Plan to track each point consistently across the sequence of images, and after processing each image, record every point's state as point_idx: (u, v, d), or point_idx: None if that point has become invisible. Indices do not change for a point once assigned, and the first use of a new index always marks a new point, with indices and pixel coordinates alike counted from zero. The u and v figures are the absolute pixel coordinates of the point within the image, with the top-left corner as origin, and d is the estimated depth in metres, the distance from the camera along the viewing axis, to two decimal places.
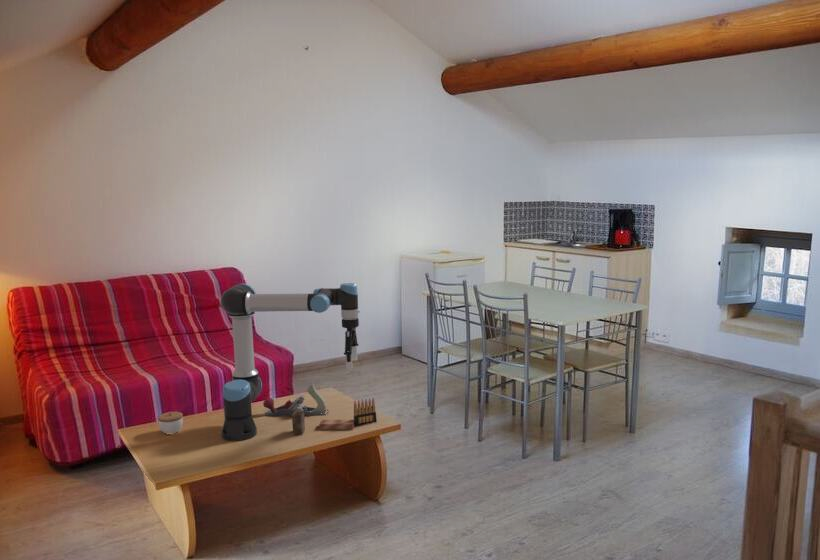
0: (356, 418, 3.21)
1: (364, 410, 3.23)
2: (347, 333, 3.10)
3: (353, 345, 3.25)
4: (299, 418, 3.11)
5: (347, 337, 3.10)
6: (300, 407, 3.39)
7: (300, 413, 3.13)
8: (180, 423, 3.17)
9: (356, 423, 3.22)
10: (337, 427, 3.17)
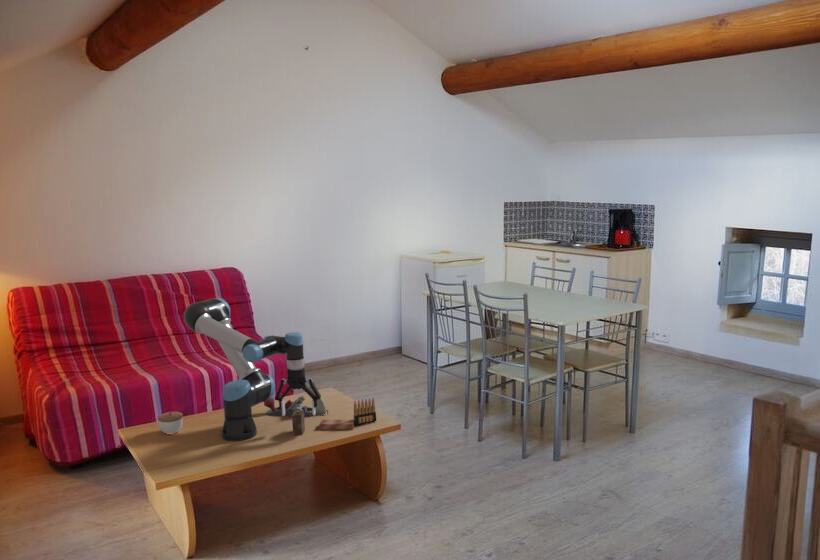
0: (356, 418, 3.21)
1: (364, 410, 3.23)
2: (281, 380, 3.12)
3: None
4: (299, 418, 3.11)
5: None
6: (300, 407, 3.39)
7: (300, 413, 3.13)
8: (180, 423, 3.17)
9: (356, 423, 3.22)
10: (337, 427, 3.17)
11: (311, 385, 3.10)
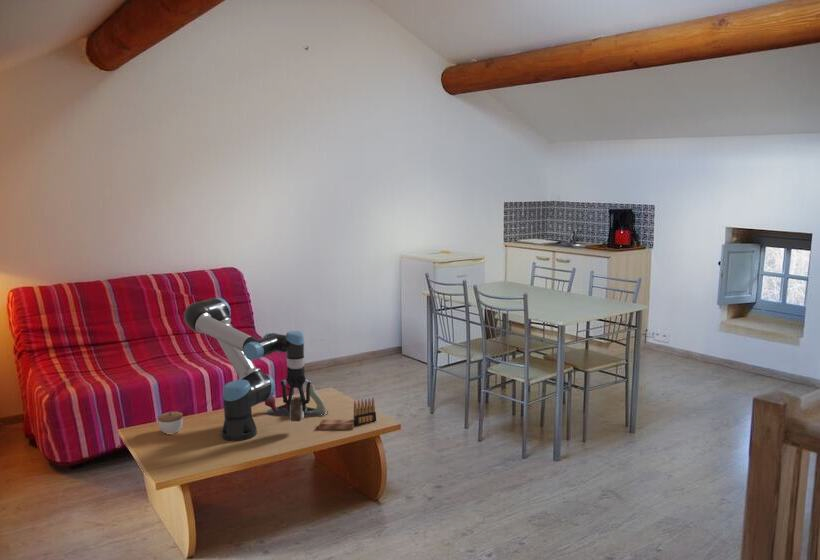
0: (356, 418, 3.21)
1: (364, 410, 3.23)
2: None
3: None
4: (297, 404, 3.10)
5: None
6: None
7: (298, 399, 3.12)
8: (180, 423, 3.17)
9: (356, 423, 3.22)
10: (337, 427, 3.17)
11: (307, 388, 3.11)
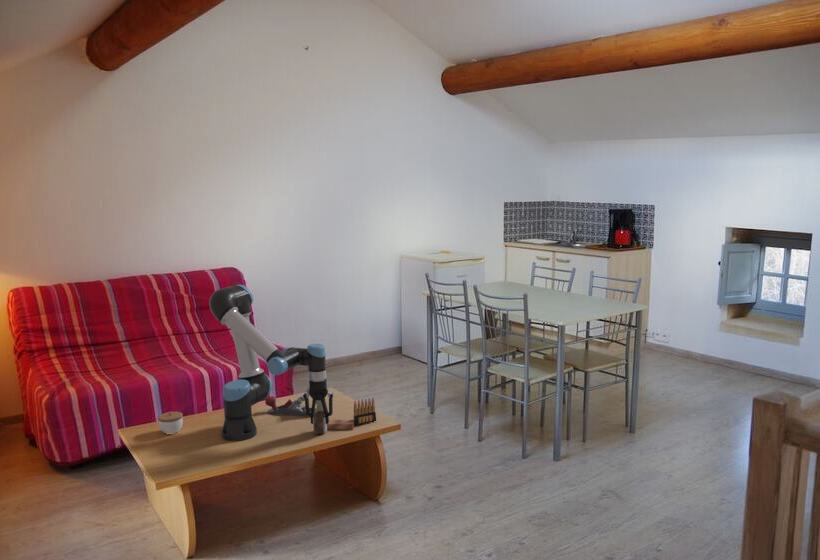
0: (356, 418, 3.21)
1: (364, 410, 3.23)
2: None
3: None
4: (320, 417, 3.10)
5: None
6: (300, 407, 3.39)
7: (321, 412, 3.12)
8: (180, 423, 3.17)
9: (356, 423, 3.22)
10: (337, 427, 3.17)
11: (330, 400, 3.11)
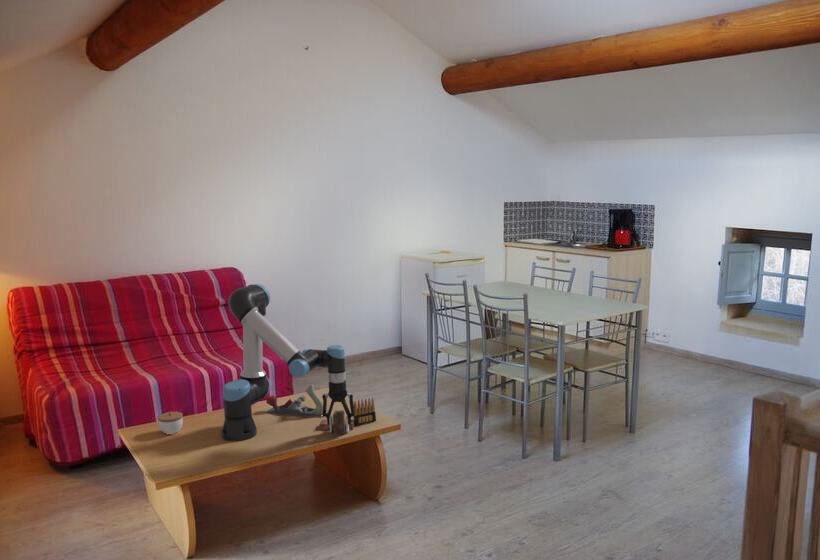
0: (356, 418, 3.21)
1: (364, 410, 3.23)
2: (323, 395, 3.12)
3: None
4: (340, 418, 3.10)
5: None
6: (300, 407, 3.39)
7: (341, 413, 3.12)
8: (180, 423, 3.17)
9: (356, 423, 3.22)
10: None
11: (350, 401, 3.10)
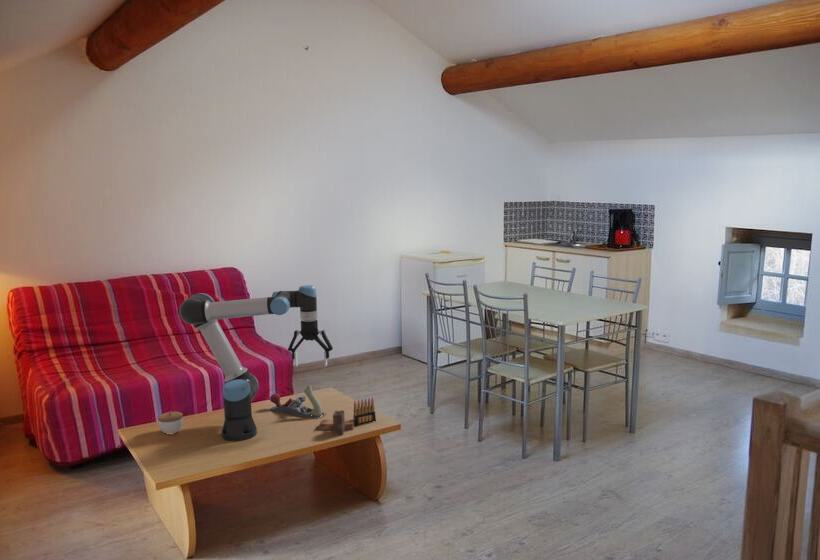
0: (356, 418, 3.21)
1: (364, 410, 3.23)
2: None
3: None
4: (340, 418, 3.10)
5: (294, 335, 3.22)
6: (299, 407, 3.39)
7: (341, 413, 3.12)
8: (180, 423, 3.17)
9: (356, 423, 3.22)
10: None
11: (323, 336, 3.20)
